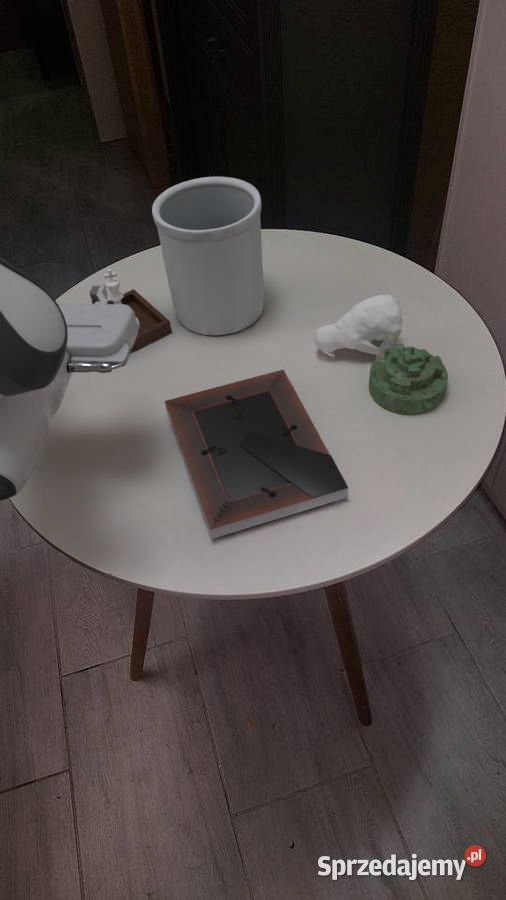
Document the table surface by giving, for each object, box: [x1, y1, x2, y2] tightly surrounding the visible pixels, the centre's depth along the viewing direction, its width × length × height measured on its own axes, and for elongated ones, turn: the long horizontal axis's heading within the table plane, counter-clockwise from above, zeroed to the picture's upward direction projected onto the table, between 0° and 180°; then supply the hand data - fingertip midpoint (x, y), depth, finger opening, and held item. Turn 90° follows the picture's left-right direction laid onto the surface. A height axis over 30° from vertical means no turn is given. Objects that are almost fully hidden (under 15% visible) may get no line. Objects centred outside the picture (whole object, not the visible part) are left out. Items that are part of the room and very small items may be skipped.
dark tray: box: [107, 288, 173, 354], centre depth 102 cm, size 11×11×2 cm
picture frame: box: [164, 369, 349, 540], centre depth 84 cm, size 16×2×22 cm
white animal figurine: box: [313, 294, 403, 359], centre depth 94 cm, size 6×8×12 cm
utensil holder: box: [151, 176, 265, 336], centre depth 99 cm, size 15×15×18 cm
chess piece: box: [103, 268, 140, 329], centre depth 99 cm, size 5×5×10 cm
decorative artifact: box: [368, 343, 449, 415], centre depth 89 cm, size 10×7×10 cm
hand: (61, 289), depth 80 cm, fingers open, 8 cm apart
